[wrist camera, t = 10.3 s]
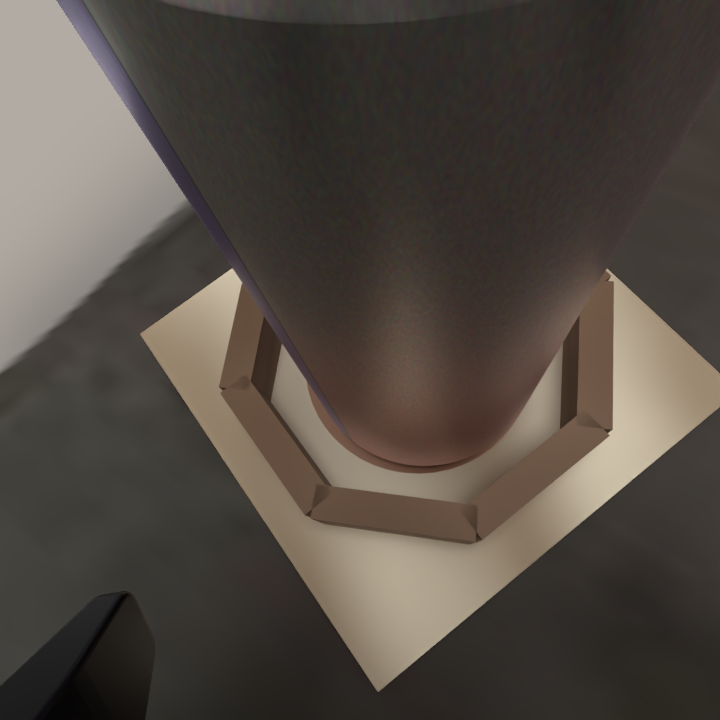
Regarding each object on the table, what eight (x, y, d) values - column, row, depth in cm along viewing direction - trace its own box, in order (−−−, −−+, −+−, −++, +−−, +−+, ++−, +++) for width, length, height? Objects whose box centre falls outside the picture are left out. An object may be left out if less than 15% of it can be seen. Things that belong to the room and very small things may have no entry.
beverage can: (276, 380, 17) (-437, -492, 3) (406, 234, 18) (329, -903, 4) (441, 517, 15) (568, -30, 1) (574, 347, 16) (1433, -956, 2)
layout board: (381, 684, 15) (369, 711, 12) (154, 345, 19) (106, 307, 16) (721, 400, 17) (780, 366, 14) (444, 137, 20) (446, 69, 18)
